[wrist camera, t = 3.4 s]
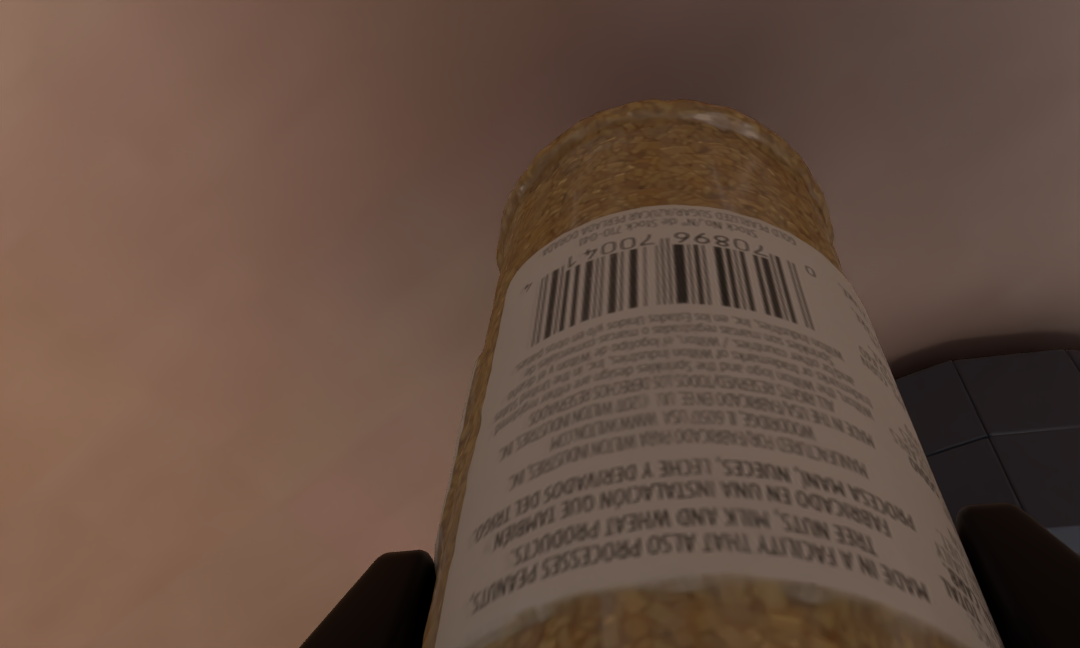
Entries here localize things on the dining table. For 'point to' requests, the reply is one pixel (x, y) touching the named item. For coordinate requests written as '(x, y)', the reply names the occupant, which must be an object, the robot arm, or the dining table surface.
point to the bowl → (1004, 433)
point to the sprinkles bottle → (687, 417)
